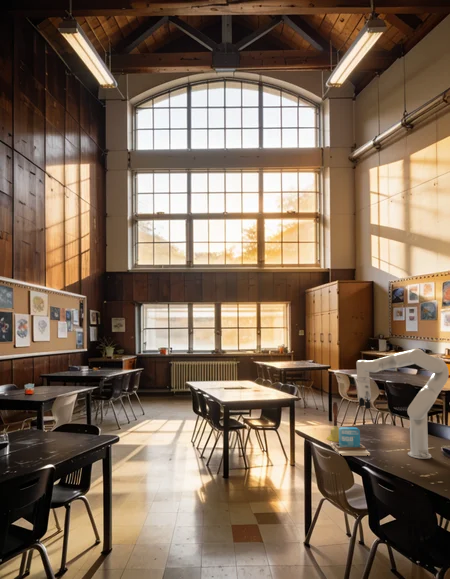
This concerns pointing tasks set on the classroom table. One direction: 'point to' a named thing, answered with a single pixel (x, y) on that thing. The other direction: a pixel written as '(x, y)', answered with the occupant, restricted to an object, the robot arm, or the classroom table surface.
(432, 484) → the classroom table surface
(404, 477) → the classroom table surface
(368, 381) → the robot arm
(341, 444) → the data package
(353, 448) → the jig
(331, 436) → the handbell
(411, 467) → the classroom table surface
